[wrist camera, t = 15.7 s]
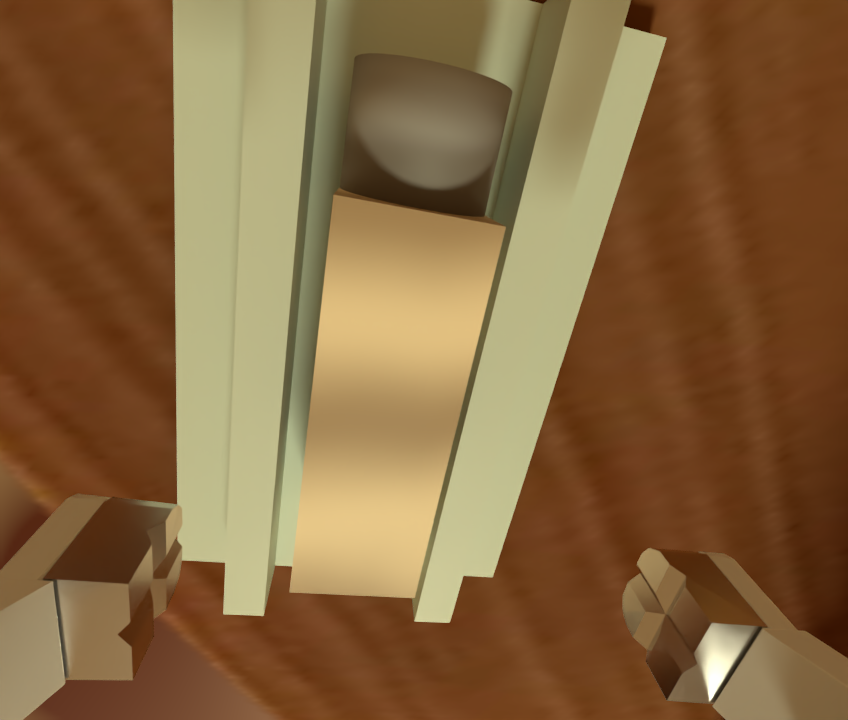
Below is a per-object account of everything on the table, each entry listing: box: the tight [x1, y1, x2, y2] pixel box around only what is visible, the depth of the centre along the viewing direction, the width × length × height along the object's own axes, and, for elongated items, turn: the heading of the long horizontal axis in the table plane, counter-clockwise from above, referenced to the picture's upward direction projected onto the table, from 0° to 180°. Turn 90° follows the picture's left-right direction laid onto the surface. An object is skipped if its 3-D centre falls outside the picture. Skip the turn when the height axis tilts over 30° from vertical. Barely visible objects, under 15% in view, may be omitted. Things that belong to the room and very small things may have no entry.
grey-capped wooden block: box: [290, 53, 513, 598], centre depth 15 cm, size 15×4×5 cm, turn 169°
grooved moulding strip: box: [173, 0, 667, 623], centre depth 17 cm, size 22×14×4 cm, turn 169°
